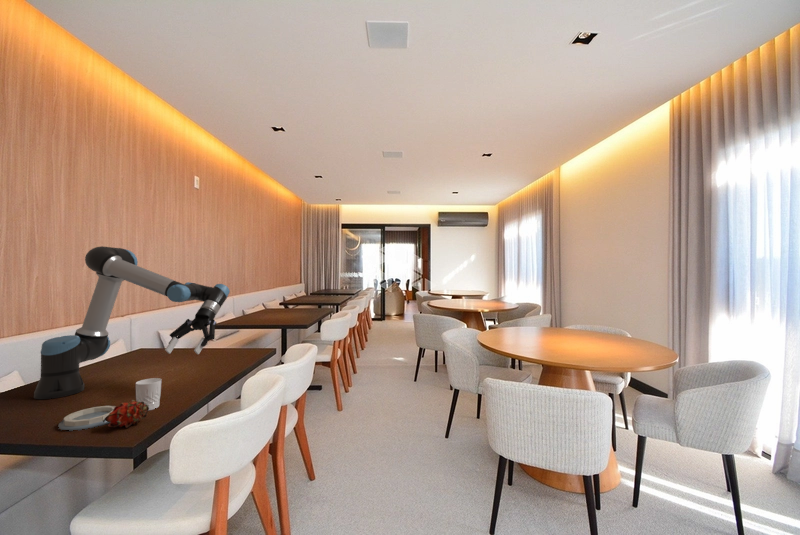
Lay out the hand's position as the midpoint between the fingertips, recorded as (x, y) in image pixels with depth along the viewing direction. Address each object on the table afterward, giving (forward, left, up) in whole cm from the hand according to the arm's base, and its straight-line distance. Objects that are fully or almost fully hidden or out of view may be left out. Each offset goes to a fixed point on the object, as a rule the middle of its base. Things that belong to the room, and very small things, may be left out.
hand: (181, 352), depth 142 cm
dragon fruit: (+6, -29, -18) cm, 35 cm away
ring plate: (-10, -27, -18) cm, 34 cm away
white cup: (-1, -14, -18) cm, 23 cm away
